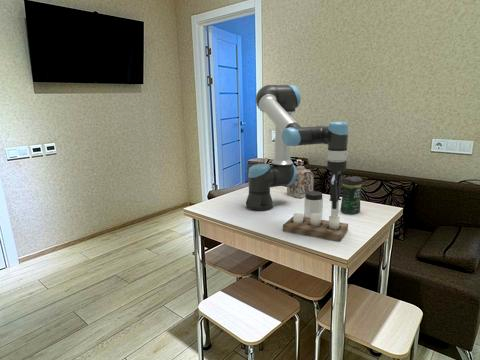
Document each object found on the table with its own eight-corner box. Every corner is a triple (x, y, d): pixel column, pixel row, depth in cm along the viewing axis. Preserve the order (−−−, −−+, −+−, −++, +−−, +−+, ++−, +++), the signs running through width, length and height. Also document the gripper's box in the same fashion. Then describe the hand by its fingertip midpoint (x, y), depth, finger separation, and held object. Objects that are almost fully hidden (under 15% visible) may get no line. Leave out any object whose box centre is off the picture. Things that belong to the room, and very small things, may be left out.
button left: (291, 226, 143) (291, 215, 142) (295, 223, 147) (295, 213, 146) (301, 228, 141) (301, 217, 140) (304, 224, 145) (304, 214, 144)
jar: (325, 217, 157) (326, 194, 154) (312, 220, 153) (313, 196, 151) (314, 212, 165) (314, 190, 162) (301, 215, 161) (301, 192, 158)
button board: (282, 231, 141) (282, 224, 140) (294, 221, 153) (294, 214, 152) (340, 241, 128) (340, 234, 128) (347, 230, 140) (348, 223, 140)
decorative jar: (313, 195, 195) (314, 166, 191) (299, 198, 189) (300, 169, 185) (300, 191, 205) (300, 164, 201) (286, 194, 199) (286, 166, 195)
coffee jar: (350, 215, 158) (352, 179, 154) (337, 211, 165) (339, 176, 161) (363, 212, 163) (365, 176, 159) (350, 208, 170) (352, 174, 166)
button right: (327, 229, 135) (327, 217, 134) (330, 225, 139) (330, 214, 138) (337, 230, 133) (338, 219, 132) (340, 227, 137) (340, 216, 136)
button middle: (309, 226, 139) (309, 215, 138) (312, 222, 143) (312, 212, 142) (318, 227, 137) (319, 216, 136) (321, 224, 141) (322, 213, 140)
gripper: (342, 163, 122) (340, 221, 127) (349, 158, 133) (347, 212, 138) (323, 162, 126) (321, 218, 131) (331, 157, 137) (329, 209, 142)
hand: (334, 215), depth 135 cm, fingers closed
